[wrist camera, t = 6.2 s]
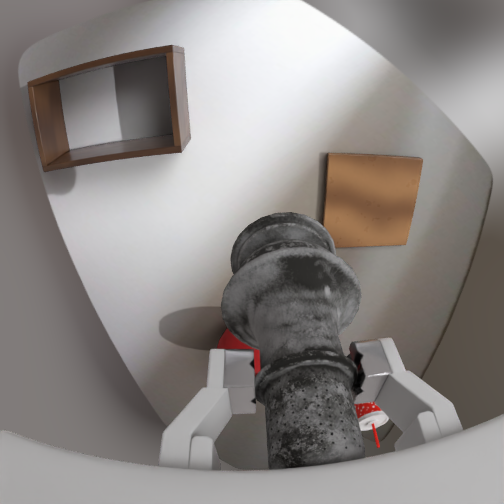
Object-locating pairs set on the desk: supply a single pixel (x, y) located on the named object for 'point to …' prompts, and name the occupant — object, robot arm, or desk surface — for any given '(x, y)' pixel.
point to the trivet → (370, 198)
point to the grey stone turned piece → (297, 337)
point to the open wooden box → (60, 156)
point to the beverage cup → (370, 417)
